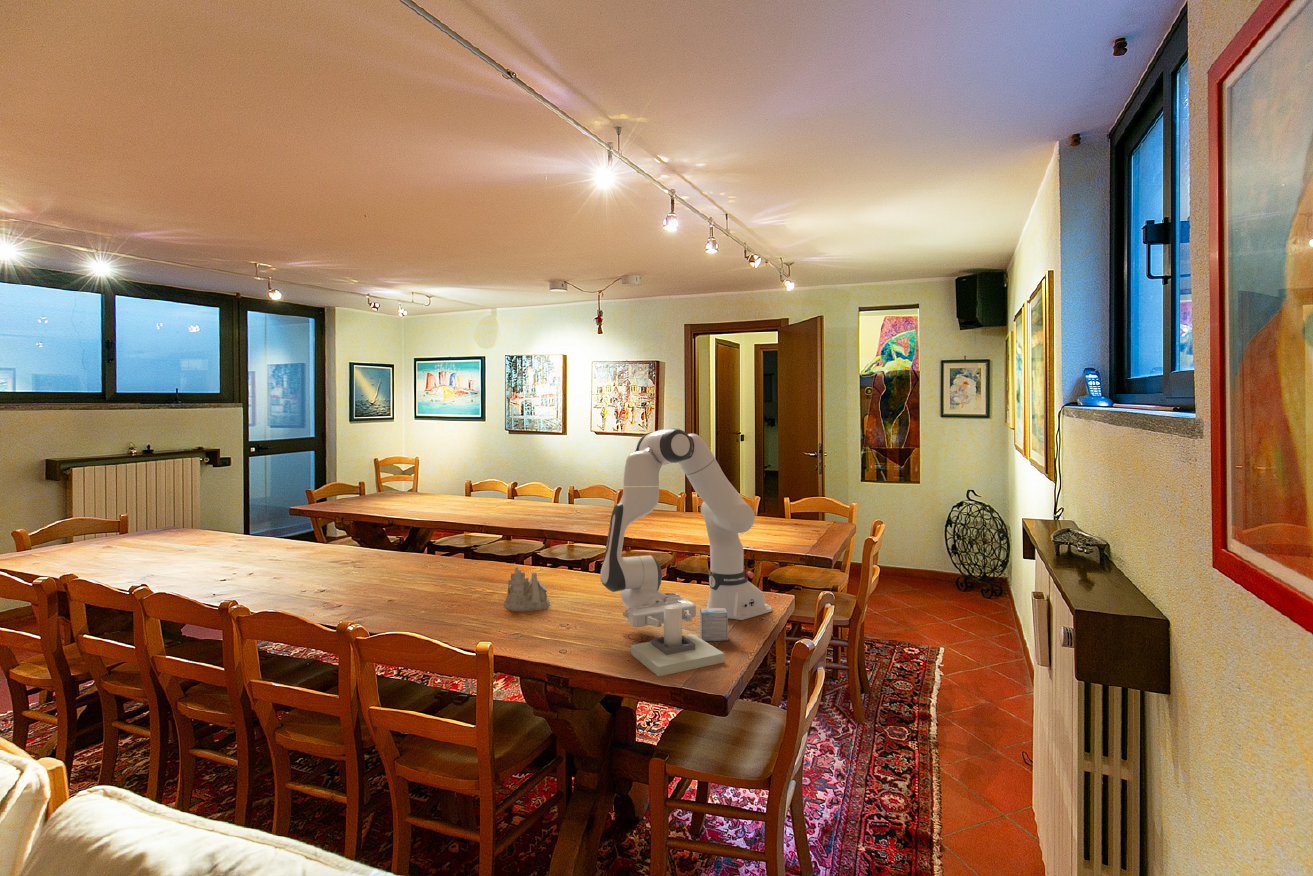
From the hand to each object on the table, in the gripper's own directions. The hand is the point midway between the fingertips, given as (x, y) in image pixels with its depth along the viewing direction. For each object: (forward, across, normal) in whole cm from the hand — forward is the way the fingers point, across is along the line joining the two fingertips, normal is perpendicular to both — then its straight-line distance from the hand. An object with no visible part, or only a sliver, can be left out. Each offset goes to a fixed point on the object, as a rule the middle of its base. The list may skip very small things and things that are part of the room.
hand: (674, 621), depth 179 cm
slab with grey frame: (+1, 0, +10) cm, 10 cm away
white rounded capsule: (-1, 0, +8) cm, 8 cm away
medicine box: (-7, +17, +10) cm, 21 cm away
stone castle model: (-66, -23, +10) cm, 71 cm away
